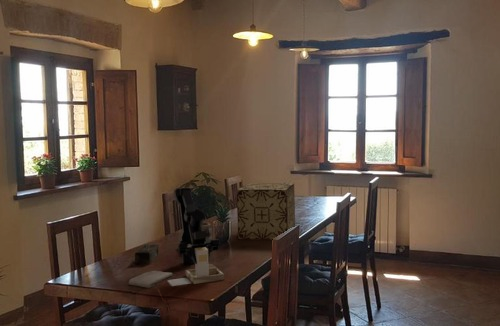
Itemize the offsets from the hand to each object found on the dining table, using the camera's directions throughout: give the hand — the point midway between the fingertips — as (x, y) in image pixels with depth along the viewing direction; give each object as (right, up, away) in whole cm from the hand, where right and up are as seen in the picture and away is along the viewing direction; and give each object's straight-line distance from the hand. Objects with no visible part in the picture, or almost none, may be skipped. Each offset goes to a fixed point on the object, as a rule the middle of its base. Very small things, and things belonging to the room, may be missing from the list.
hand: (202, 263), depth 226 cm
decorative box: (+32, 0, +92) cm, 98 cm away
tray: (+1, -8, +6) cm, 10 cm away
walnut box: (+3, -7, +9) cm, 12 cm away
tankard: (-8, -4, +64) cm, 64 cm away
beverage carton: (-33, -7, +41) cm, 53 cm away
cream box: (0, -6, +2) cm, 6 cm away
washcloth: (-23, -10, +5) cm, 26 cm away
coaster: (-10, -9, 0) cm, 14 cm away
